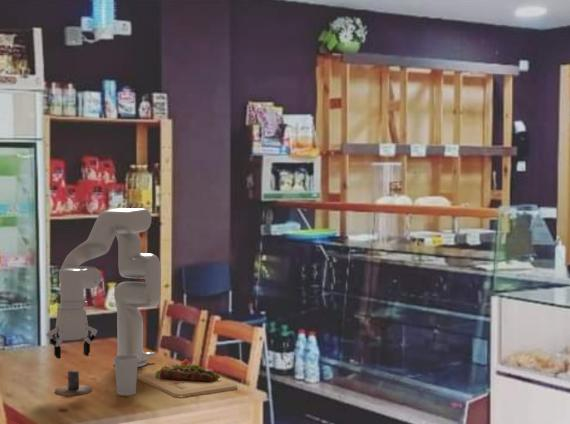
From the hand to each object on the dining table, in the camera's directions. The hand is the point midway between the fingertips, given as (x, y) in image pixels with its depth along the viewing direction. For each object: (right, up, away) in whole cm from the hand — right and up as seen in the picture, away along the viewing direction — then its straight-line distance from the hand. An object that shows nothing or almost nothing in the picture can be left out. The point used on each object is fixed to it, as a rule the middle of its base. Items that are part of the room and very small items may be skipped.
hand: (72, 356), depth 308 cm
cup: (+18, -12, -2) cm, 22 cm away
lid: (0, -12, +1) cm, 12 cm away
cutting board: (+37, -12, +13) cm, 41 cm away
